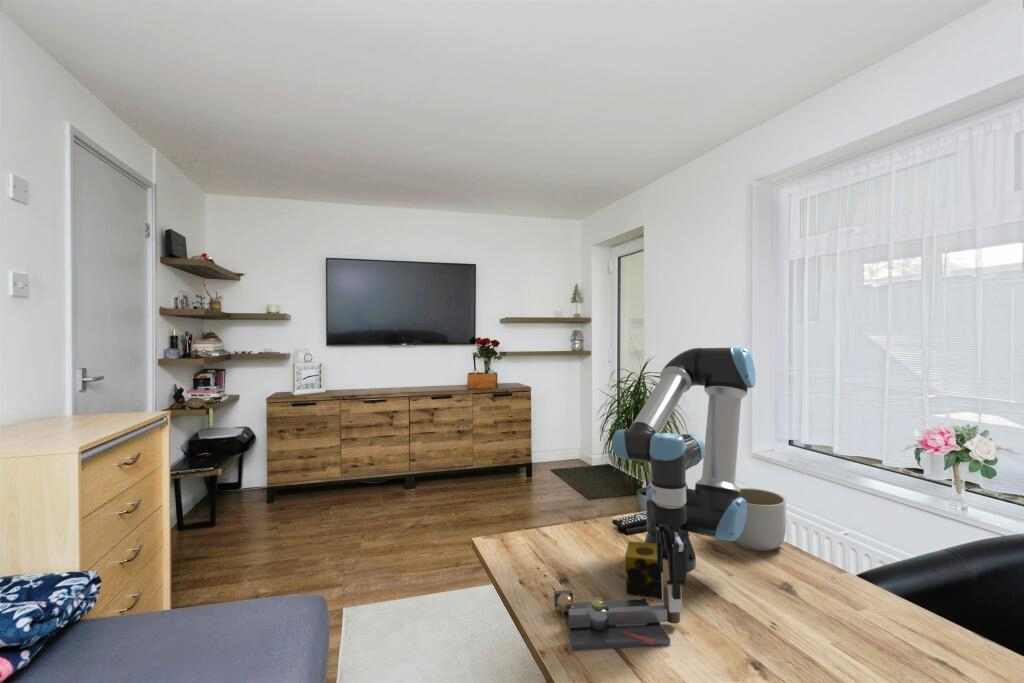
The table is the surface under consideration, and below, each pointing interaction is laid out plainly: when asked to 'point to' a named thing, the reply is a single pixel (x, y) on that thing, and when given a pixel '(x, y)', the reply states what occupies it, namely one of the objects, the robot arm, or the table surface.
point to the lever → (625, 612)
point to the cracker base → (613, 633)
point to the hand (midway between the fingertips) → (671, 605)
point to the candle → (643, 570)
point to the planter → (763, 520)
